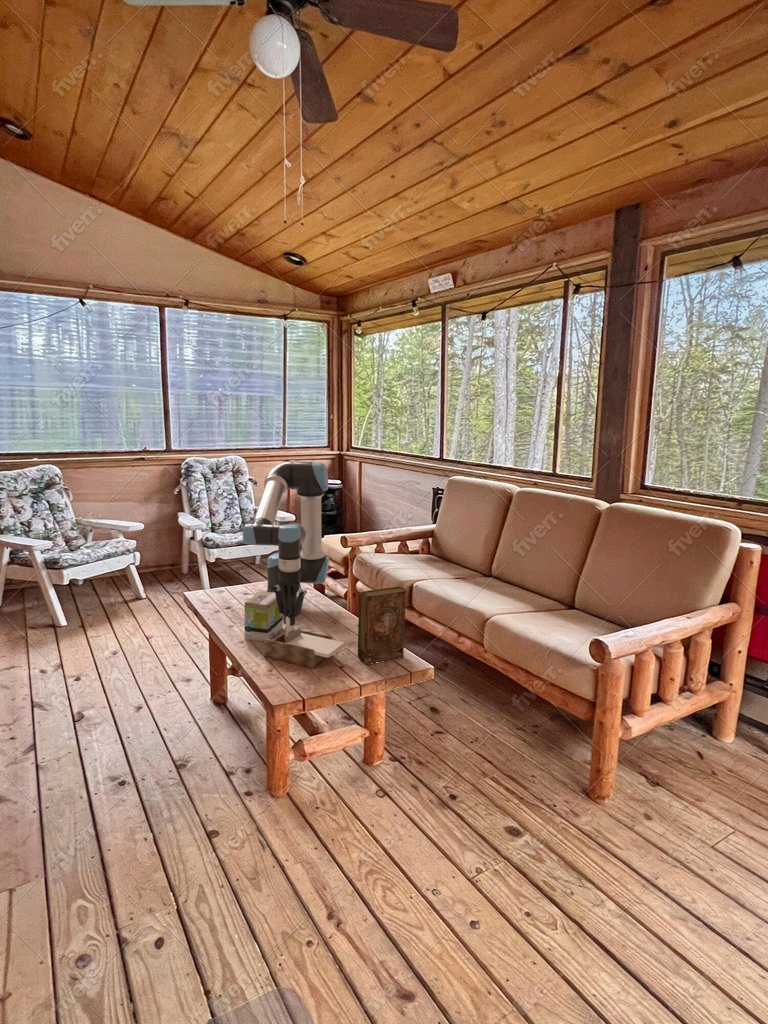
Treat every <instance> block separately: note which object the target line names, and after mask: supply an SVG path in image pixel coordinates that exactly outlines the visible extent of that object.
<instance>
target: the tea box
mask: <svg viewBox="0 0 768 1024" xmlns="http://www.w3.org/2000/svg"><path fill="white" fill-rule="evenodd" d="M283 624H284V615H283V614H282V613H281V614H280V613H279V609H278V605H277V600H276V595H275V593H274V592H266V591H263V590H260V591H258V593H256V594H254V595H253V596H252V597H251V598H249V599H248V600H246V601H245V602H244V633H243V635H244V636H243V637H244V639H245V640H250V641H251V640H252V641H259V642H264V639H270V640H272V639H273V637H274V636H275V635H276V634H278V633H279V632H280V631H281V630H282V629H283V628H284V626H283Z"/></svg>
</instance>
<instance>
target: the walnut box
mask: <svg viewBox="0 0 768 1024" xmlns="http://www.w3.org/2000/svg"><path fill="white" fill-rule="evenodd" d="M301 633H304V634H308V635H313V636H317V637H322V638H326V639H331V640H334V639H333V638H334V637H333V636H330V635H325V634H321V633H317V632H312V631H307V630H303V629H301ZM285 635H286V626H285V627H284V632H282V633H280V634H279V635H276V636H275V637H274V638H273V637H272V638H271V639H264V641H263V643H264V645H263V646H264V658H266V659H270V660H275V661H279V662H282V663H285V664H286V663H287V664H290V665H291V664H292V665H294V666H299V667H302V668H307V669H311V670H314V669H315V668H317V667H318V666H319V665H320V664H322V663H324V662H325V661H326V660H328V658H327V657H322V656H318V655H314V650H313V649H308V648H304V647H300V646H296V645H291V644H287V643H286V642H285Z"/></svg>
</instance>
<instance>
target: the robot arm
mask: <svg viewBox="0 0 768 1024" xmlns="http://www.w3.org/2000/svg"><path fill="white" fill-rule="evenodd" d="M263 487H264V489H263V492H262V495H261V497H260V498H261V499H260V500H259V503H258V506H257V509H256V513H255V515H254V518H253V521H252V523H246V524H245V525H244V526H243V528H242V529H243V530H242V541H243V543H244V544H246V545H251V546H274V547H275V546H276V547H277V546H278V552H276V553H272V554H271V555H269V556H268V557H267V564H266V569H267V571H266V572H267V574H266V575H267V576H266V577H267V579H266V580H267V587H266V588H267V589H266V591H265V592H274V593H275V595H276V600H277V605H278V609H279V613H280V614H281V613H282V614H283V624H284V625H285V627H286V634H288V633H289V632H291V631H293V630H294V629H295V627H294V625H296V617H298V616H300V615H301V613H302V607H303V603H304V600H305V596H306V594H307V590H306V589H303V588H302V585H301V584H314V585H316V584H324V583H325V582H326V580H327V575H328V571H329V563H330V557H328V556H326V552H325V551H324V550H323V548H322V547H323V546H322V543H323V542H322V541H323V540H322V539H323V538H322V497H323V496H324V495H325V494H326V493H325V492H326V491H328V489H329V474H328V469H327V467H326V464H325V463H323V462H317V461H297V460H296V461H294V460H288V461H287V460H286V461H284V462H281V463H279V464H277V465H275V466H274V467H273V468H272V469H270V470H269V472H268V473H267V475H266V476H265V479H264V480H263ZM287 490H296V496H298V497H299V498H300V523H298V522H297V523H295V522H294V523H291V524H288V523H287V524H275V521H276V518H277V515H278V511H279V507H280V505H281V501H282V498H283V494H285V493H286V491H287Z"/></svg>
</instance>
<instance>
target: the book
mask: <svg viewBox="0 0 768 1024" xmlns="http://www.w3.org/2000/svg"><path fill="white" fill-rule="evenodd" d="M406 592H407V591H406V588H404V587H401V586H393V587H392V586H391V587H384V588H377V589H371V590H370V589H369V590H364V591H360V592H359V593H358V619H357V622H358V624H357V625H358V626H357V627H358V628H357V630H358V631H357V658H358V659H359V660H362V661H363V664H364V665H365V666H367V665H366V664H371V663H376V662H381V663H383V662H382V661H386V662H389V661H388V660H391V661H394V660H393V659H396V660H400V659H399V658H401V659H404V652H405V650H404V648H405V621H406V596H407V595H406ZM376 664H377V663H376ZM371 665H372V664H371Z"/></svg>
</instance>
